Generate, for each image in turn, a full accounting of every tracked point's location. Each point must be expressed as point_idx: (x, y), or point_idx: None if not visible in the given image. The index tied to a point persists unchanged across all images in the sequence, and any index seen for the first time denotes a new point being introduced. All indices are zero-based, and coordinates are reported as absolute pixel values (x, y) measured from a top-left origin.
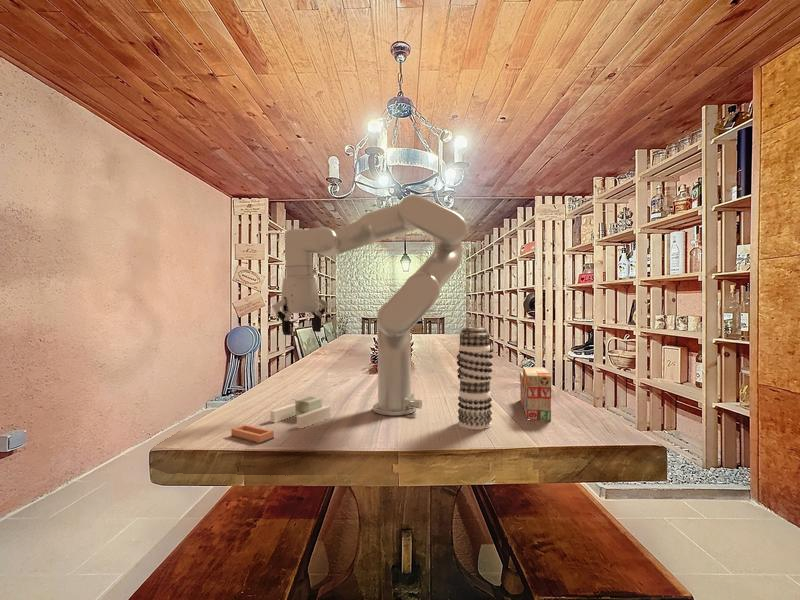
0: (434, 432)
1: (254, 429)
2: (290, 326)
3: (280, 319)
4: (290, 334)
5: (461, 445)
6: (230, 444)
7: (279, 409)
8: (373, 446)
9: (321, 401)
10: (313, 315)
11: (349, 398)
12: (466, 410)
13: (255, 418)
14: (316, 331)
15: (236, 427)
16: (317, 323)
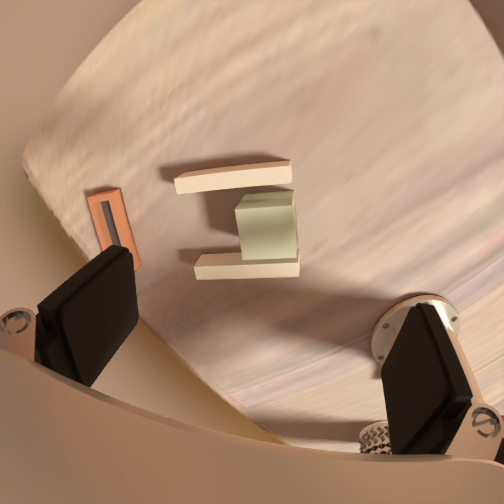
0: (325, 418)
1: (117, 228)
2: (107, 358)
3: (12, 320)
4: (133, 320)
5: (298, 442)
6: (84, 227)
7: (196, 186)
8: (230, 390)
9: (296, 253)
10: (451, 437)
11: (468, 182)
12: (364, 450)
13: (177, 113)
14: (398, 342)
15: (95, 197)
16: (391, 416)
